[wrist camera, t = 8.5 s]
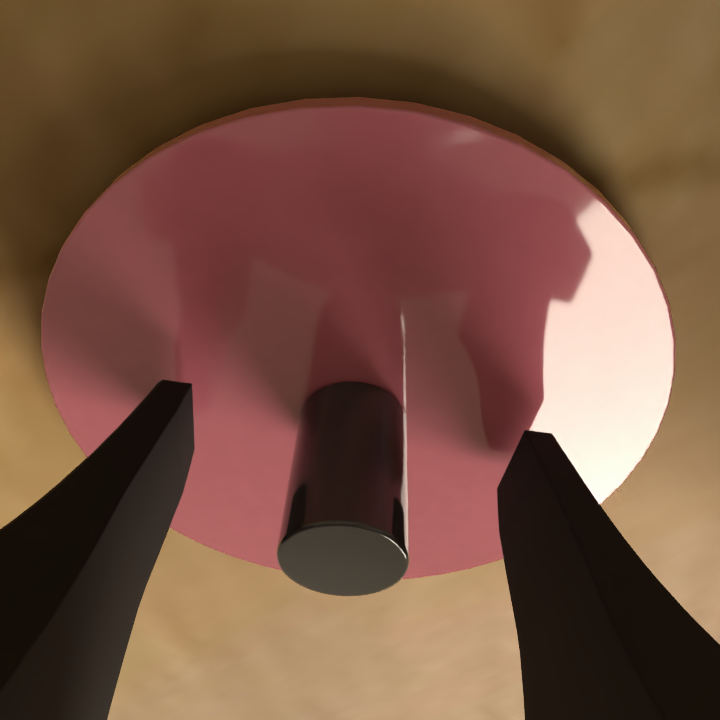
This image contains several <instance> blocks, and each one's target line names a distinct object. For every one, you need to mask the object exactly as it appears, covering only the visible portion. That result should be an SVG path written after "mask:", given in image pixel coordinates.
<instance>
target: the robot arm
mask: <svg viewBox="0 0 720 720" xmlns="http://www.w3.org/2000/svg"><path fill="white" fill-rule="evenodd" d="M194 450H195V442H194V418H193V394H192V383H185V382H177V381H170V380H161V381H160V382H158V383H157V384H156V385H155V387H154V388H153V389H152V390H151V391H150V392H149V394H148V395H147V396H146V397H145V398H144V399H143V400H142V402H141V403H140V404H139V405H138V406H137V407H136V408H135V409H134V411H133V412H132V413H131V414H130V415H129V416H128V417H127V418H126V419H125V420H124V421H123V422H122V423H121V424H120V426H119V427H118V428H117V429H116V430H115V431H114V432H113V433H112V434H111V435H110V436H109V437H108V438H107V439H106V440H105V441H104V442H103V443H102V444H101V445H100V446H99V447H98V448H97V449H96V450H95V451H94V452H93V453H92V454H90V455H89V456H88V457H87V458H86V459H85V460H84V461H83V462H82V463H81V464H80V465H79V466H77V467H76V468H75V469H74V470H73V471H72V472H71V473H70V474H69V475H67V476H66V477H65V478H64V479H63V480H62V481H61V482H60V483H59V484H57V485H56V486H55V487H54V488H53V489H52V490H50V491H49V492H48V493H47V494H46V495H44V496H43V497H42V498H41V499H39V500H38V501H37V502H36V503H35V504H33V505H32V506H31V507H29V508H28V509H27V510H26V511H24V512H23V513H22V514H20V515H19V516H18V517H17V518H15V519H14V520H13V521H11V522H10V523H8V524H7V525H6V526H4V527H3V528H2V529H0V720H107V718H108V714H109V710H110V706H111V702H112V699H113V695H114V691H115V688H116V684H117V681H118V677H119V673H120V670H121V666H122V662H123V659H124V655H125V652H126V648H127V645H128V641H129V638H130V635H131V631H132V628H133V624H134V621H135V617H136V614H137V610H138V607H139V604H140V602H141V599H142V596H143V593H144V590H145V587H146V585H147V582H148V580H149V577H150V575H151V572H152V570H153V567H154V565H155V562H156V560H157V557H158V555H159V552H160V550H161V547H162V545H163V542H164V540H165V537H166V535H167V532H168V530H169V527H170V525H171V522H172V520H173V517H174V514H175V512H176V509H177V507H178V504H179V502H180V499H181V497H182V494H183V491H184V487H185V484H186V480H187V477H188V473H189V469H190V465H191V461H192V457H193V454H194ZM497 502H498V522H499V534H500V540H501V546H502V552H503V557H504V563H505V569H506V574H507V579H508V585H509V590H510V596H511V601H512V606H513V612H514V617H515V623H516V628H517V634H518V642H519V649H520V658H521V670H522V682H523V694H524V709H525V720H720V645H719V644H718V643H717V642H716V641H715V640H714V639H713V638H712V637H711V636H710V635H709V634H708V633H707V632H706V631H705V630H704V629H703V628H702V627H701V626H700V625H699V624H698V623H697V622H696V621H695V620H694V619H693V618H692V617H691V616H690V615H689V614H688V612H687V611H686V610H685V609H684V608H683V607H682V606H681V605H680V604H679V603H678V602H677V601H676V599H675V598H674V597H673V596H672V595H671V594H670V593H669V592H668V591H667V589H666V588H665V587H664V586H663V585H662V584H661V583H660V582H659V581H658V579H657V578H656V577H655V576H654V575H653V574H652V572H651V571H650V570H649V569H648V568H647V566H646V565H645V564H644V563H643V562H642V560H641V559H640V558H639V556H638V555H637V554H636V553H635V551H634V550H633V549H632V548H631V546H630V545H629V544H628V543H627V541H626V540H625V539H624V537H623V536H622V535H621V533H620V532H619V531H618V529H617V528H616V527H615V525H614V524H613V523H612V521H611V520H610V518H609V517H608V516H607V514H606V513H605V511H604V510H603V509H602V507H601V506H600V504H599V503H598V502H597V500H596V499H595V497H594V496H593V494H592V493H591V491H590V490H589V488H588V487H587V485H586V484H585V482H584V481H583V479H582V478H581V476H580V475H579V473H578V472H577V470H576V469H575V467H574V466H573V464H572V463H571V461H570V460H569V458H568V457H567V455H566V454H565V452H564V451H563V449H562V448H561V446H560V445H559V443H558V442H557V440H556V439H555V437H554V436H553V434H552V433H544V432H537V431H530V430H524V433H523V435H522V437H521V439H520V441H519V443H518V445H517V447H516V449H515V452H514V454H513V456H512V458H511V460H510V462H509V464H508V466H507V468H506V471H505V473H504V475H503V477H502V479H501V481H500V483H499V485H498V488H497Z"/></svg>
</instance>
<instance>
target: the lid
mask: <svg viewBox="0 0 720 720" xmlns="http://www.w3.org/2000/svg"><path fill="white" fill-rule="evenodd" d="M675 342H676V338H675V332H674V326H673V321H672V315H671V310H670V304H669V301H668V298H667V296H666V293H665V291H664V288H663V285H662V283H661V280H660V278H659V275H658V272H657V270H656V268H655V266H654V264H653V263H652V261H651V259H650V258H649V256H648V255H647V253H646V251H645V250H644V248H643V246H642V245H641V243H640V242H639V240H638V238H637V237H636V235H635V233H634V232H633V230H632V229H631V227H630V226H629V224H628V223H627V222H626V220H625V219H624V218H623V217H622V216H621V215H620V214H619V213H618V211H617V210H616V209H615V208H614V207H613V206H612V205H611V203H610V202H609V201H608V200H607V199H606V198H605V197H604V196H603V194H602V193H601V192H600V191H599V190H598V189H596V188H595V187H594V186H593V185H592V184H590V183H589V182H588V181H587V180H585V179H584V178H583V177H582V176H580V175H579V174H578V173H577V172H575V171H574V170H573V169H572V168H571V167H569V166H568V165H567V164H566V163H564V162H563V161H562V160H560V159H558V158H557V157H555V156H553V155H551V154H550V153H548V152H546V151H545V150H543V149H541V148H539V147H538V146H536V145H534V144H532V143H531V142H529V141H527V140H526V139H524V138H522V137H520V136H519V135H516V134H514V133H511V132H509V131H506V130H504V129H501V128H499V127H496V126H494V125H491V124H489V123H486V122H484V121H481V120H479V119H476V118H474V117H471V116H468V115H464V114H460V113H456V112H452V111H448V110H444V109H439V108H435V107H431V106H427V105H423V104H419V103H414V102H404V101H394V100H384V99H375V98H365V97H344V98H317V99H300V100H295V101H289V102H284V103H278V104H272V105H267V106H261V107H255V108H250V109H247V110H244V111H241V112H238V113H235V114H232V115H229V116H226V117H223V118H220V119H217V120H214V121H211V122H208V123H205V124H202V125H199V126H197V127H195V128H193V129H192V130H190V131H188V132H186V133H184V134H182V135H180V136H178V137H176V138H174V139H172V140H170V141H168V142H166V143H164V144H162V145H160V146H158V147H157V148H155V149H154V150H152V151H151V152H150V153H148V154H147V155H146V156H144V157H143V158H142V159H140V160H139V161H138V162H136V163H135V164H133V165H132V166H131V167H129V168H128V169H127V170H125V171H124V172H123V173H121V174H120V175H119V176H118V177H117V178H116V179H115V180H114V181H113V182H112V183H111V184H110V186H109V187H108V188H107V189H106V190H105V191H104V192H103V193H102V194H101V195H100V196H99V197H98V198H97V199H96V200H95V201H94V202H93V203H92V204H91V205H90V207H89V208H88V209H87V210H86V211H85V212H84V214H83V215H82V217H81V218H80V220H79V221H78V223H77V224H76V226H75V227H74V229H73V230H72V232H71V233H70V235H69V236H68V238H67V239H66V241H65V242H64V244H63V245H62V248H61V250H60V252H59V255H58V257H57V260H56V262H55V264H54V267H53V269H52V271H51V274H50V276H49V279H48V283H47V288H46V293H45V298H44V303H43V307H42V314H41V349H42V355H43V362H44V368H45V374H46V378H47V381H48V384H49V387H50V390H51V393H52V396H53V399H54V402H55V405H56V407H57V409H58V411H59V413H60V415H61V417H62V419H63V421H64V423H65V425H66V427H67V429H68V431H69V433H70V434H71V435H72V437H73V438H74V440H75V441H76V443H77V444H78V446H79V447H80V448H81V450H82V451H83V453H84V454H85V456H86V457H88V456H89V455H90V454H92V453H93V452H94V451H95V450H96V449H97V448H98V447H99V446H100V445H101V444H102V443H103V442H104V441H105V440H106V439H107V438H108V437H109V436H110V435H111V434H112V433H113V432H114V431H115V430H116V429H117V428H118V427H119V426H120V424H121V423H122V422H123V421H124V420H125V419H126V418H127V417H128V416H129V415H130V414H131V413H132V412H133V411H134V409H135V408H136V407H137V406H138V405H139V404H140V403H141V402H142V400H143V399H144V398H145V397H146V396H147V395H148V394H149V392H150V391H151V390H152V389H153V388H154V387H155V385H156V384H157V383H158V382H160V381H161V380H170V381H177V382H185V383H192V394H193V418H194V442H195V450H194V454H193V457H192V461H191V465H190V469H189V473H188V477H187V480H186V484H185V487H184V491H183V494H182V497H181V499H180V502H179V504H178V507H177V509H176V512H175V514H174V517H173V520H172V522H171V525H170V528H172V529H173V530H175V531H177V532H178V533H180V534H182V535H184V536H186V537H188V538H191V539H193V540H195V541H197V542H199V543H201V544H203V545H205V546H207V547H210V548H212V549H215V550H217V551H220V552H222V553H225V554H227V555H230V556H232V557H235V558H239V559H242V560H245V561H248V562H252V563H255V564H258V565H261V566H265V567H270V568H274V569H278V570H282V571H283V572H284V573H285V574H286V575H287V576H288V577H289V578H290V579H291V580H293V581H294V582H296V583H297V584H299V585H301V586H303V587H305V588H308V589H310V590H313V591H316V592H320V593H324V594H329V595H336V596H361V595H368V594H373V593H376V592H380V591H383V590H385V589H387V588H389V587H391V586H393V585H395V584H396V583H397V582H399V581H400V580H401V579H411V578H419V577H426V576H434V575H441V574H446V573H451V572H456V571H461V570H466V569H470V568H474V567H477V566H481V565H484V564H488V563H491V562H495V561H498V560H501V559H503V558H504V557H503V552H502V546H501V540H500V534H499V522H498V502H497V488H498V485H499V483H500V481H501V479H502V477H503V475H504V473H505V471H506V468H507V466H508V464H509V462H510V460H511V458H512V456H513V454H514V452H515V449H516V447H517V445H518V443H519V441H520V439H521V437H522V435H523V433H524V430H530V431H537V432H544V433H552V434H553V436H554V437H555V439H556V440H557V442H558V443H559V445H560V446H561V448H562V449H563V451H564V452H565V454H566V455H567V457H568V458H569V460H570V461H571V463H572V464H573V466H574V467H575V469H576V470H577V472H578V473H579V475H580V476H581V478H582V479H583V481H584V482H585V484H586V485H587V487H588V488H589V490H590V491H591V493H592V494H593V496H594V497H595V499H596V500H597V502H598V503H599V504H602V503H603V502H604V501H605V500H606V499H607V498H608V497H609V496H610V495H611V494H612V493H613V492H614V491H615V490H616V489H617V488H618V487H619V486H620V485H621V484H622V483H623V482H624V481H625V480H626V479H627V477H628V476H629V475H630V474H631V472H632V471H633V470H634V469H635V467H636V466H637V465H638V464H639V462H640V461H641V460H642V458H643V457H644V455H645V453H646V452H647V450H648V448H649V446H650V445H651V443H652V441H653V440H654V438H655V436H656V434H657V433H658V430H659V428H660V425H661V422H662V420H663V417H664V415H665V412H666V409H667V407H668V404H669V400H670V395H671V390H672V385H673V380H674V375H675Z"/></svg>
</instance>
